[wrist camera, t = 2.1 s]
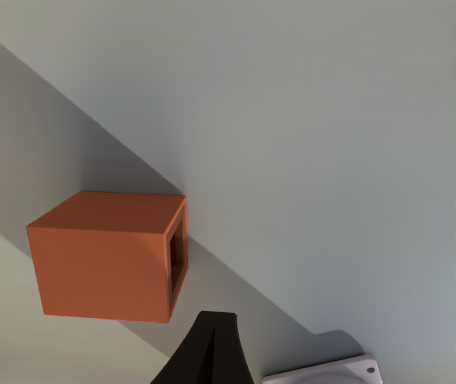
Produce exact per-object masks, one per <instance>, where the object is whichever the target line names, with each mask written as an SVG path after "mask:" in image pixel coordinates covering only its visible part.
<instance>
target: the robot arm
mask: <svg viewBox="0 0 456 384" xmlns="http://www.w3.org/2000/svg"><path fill="white" fill-rule="evenodd" d="M369 367H371V368H369ZM150 384H254V382H253V379H252V377H251V374H250V371H249V369H248V366H247V363H246V360H245V356H244V353H243V350H242V346H241V343H240V338H239V333H238V328H237V315H236V314H235V313H228V312H213V311H201V312H200V313H199V314H198V316H197V318H196V320H195V322H194V324H193V326H192V327H191V329H190V331H189V332H188V334H187V335H186V337H185V338H184V340H183V341H182V343H181V344H180V346H179V347H178V349H177V350H176V352H175V353H174V354H173V356H172V357H171V358H170V360H169V361H168V362H167V364H166V365H165V366H164V367H163V369H162V370H161V371H160V372H159V374H158V375H157V376H156V377H155V378H154V380H153V381H152V382H151V383H150ZM261 384H383V382H382V379H381V376H380V373H379V370H378V366H377V363H376V361H375V358H374V357H373V356H372V355H362V356H358V357H353V358H349V359H344V360H339V361H335V362H330V363H326V364H321V365H317V366H312V367H308V368H303V369H298V370H294V371H289V372H285V373H280V374H276V375H271V376H267V377H264V378H262V380H261Z"/></svg>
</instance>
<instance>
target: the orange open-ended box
mask: <svg viewBox="0 0 456 384" xmlns="http://www.w3.org/2000/svg"><path fill="white" fill-rule="evenodd" d="M26 229H27V234H28V239H29V243H30V248H31V253H32V258H33V263H34V268H35V273H36V277H37V282H38V287H39V292H40V297H41V302H42V306H43V311H44V315H56V316H71V317H85V318H99V319H113V320H127V321H141V322H155V323H169V321H170V318H171V315H172V312H173V309H174V307H175V304H176V301H177V298H178V295H179V292H180V290H181V287H182V284H183V281H184V278H185V275H186V272H187V270H188V254H187V216H186V196H178V195H155V194H132V193H109V192H86V191H80V192H78V193H77V194H75V195H74V196H72V197H71V198H69V199H67V200H66V201H64V202H63V203H61V204H60V205H58V206H57V207H55V208H54V209H52V210H51V211H49V212H48V213H46V214H44V215H43V216H41V217H40V218H38V219H37V220H35V221H34V222H32V223H31V224H29V225H28V226H26Z"/></svg>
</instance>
